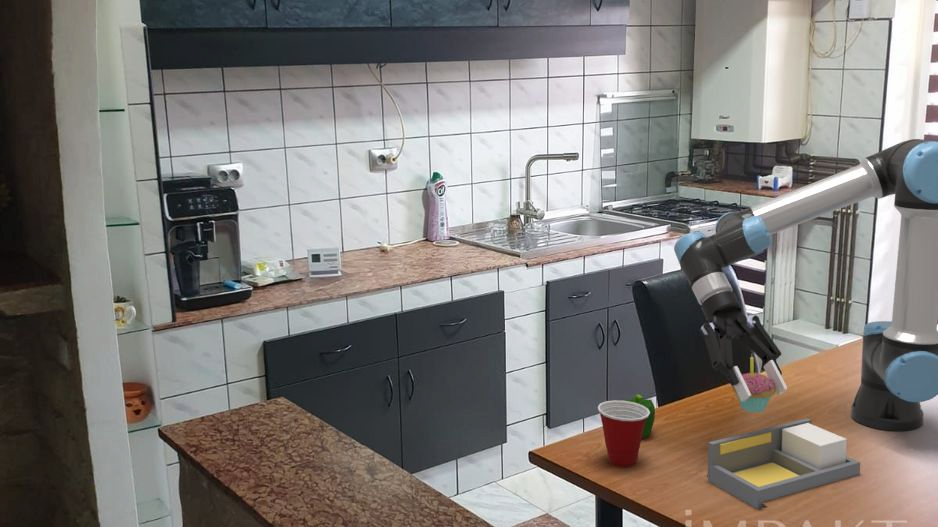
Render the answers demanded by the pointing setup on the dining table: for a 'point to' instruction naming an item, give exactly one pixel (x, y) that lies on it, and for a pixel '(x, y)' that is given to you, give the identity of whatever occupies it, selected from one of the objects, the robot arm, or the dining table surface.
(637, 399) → the bell pepper
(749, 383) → the cupcake
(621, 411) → the plastic cup
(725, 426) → the dining table surface
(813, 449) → the blank block
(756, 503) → the tray
